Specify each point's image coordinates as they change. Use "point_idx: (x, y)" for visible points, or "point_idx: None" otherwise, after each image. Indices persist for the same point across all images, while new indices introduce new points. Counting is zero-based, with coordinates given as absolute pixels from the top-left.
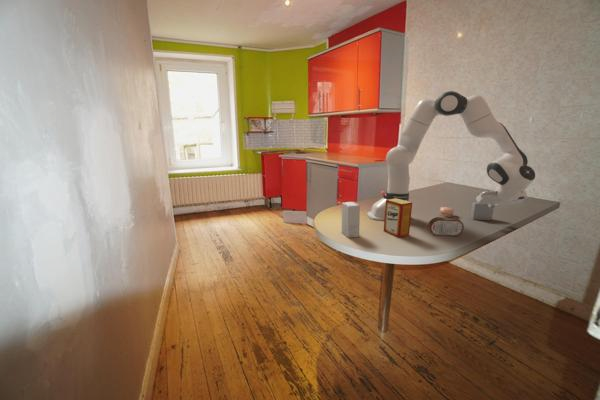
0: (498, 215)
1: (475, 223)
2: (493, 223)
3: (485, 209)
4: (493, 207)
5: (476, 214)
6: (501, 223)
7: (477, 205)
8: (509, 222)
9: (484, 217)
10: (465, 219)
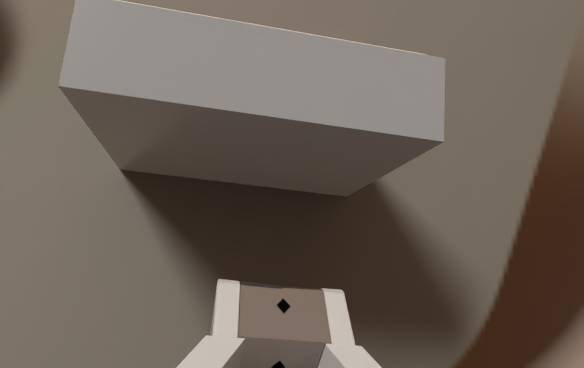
0: (520, 49)
1: (31, 336)
2: None
3: (277, 151)
4: (408, 158)
5: (150, 157)
6: (372, 333)
7: (121, 108)
8: (484, 295)
9: (265, 179)
10: (18, 161)
